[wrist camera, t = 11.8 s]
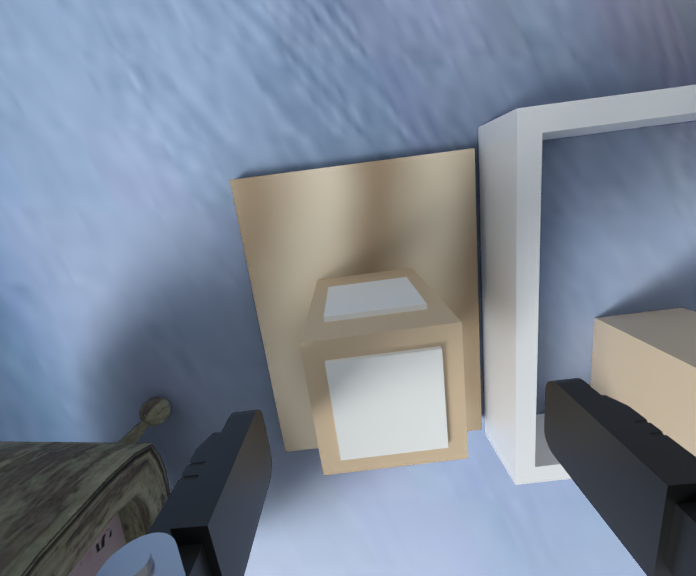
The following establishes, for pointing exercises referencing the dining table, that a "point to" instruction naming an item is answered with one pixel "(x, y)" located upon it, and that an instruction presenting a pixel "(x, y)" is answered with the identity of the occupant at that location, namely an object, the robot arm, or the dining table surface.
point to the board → (357, 255)
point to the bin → (534, 255)
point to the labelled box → (384, 373)
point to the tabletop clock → (78, 499)
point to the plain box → (650, 368)
